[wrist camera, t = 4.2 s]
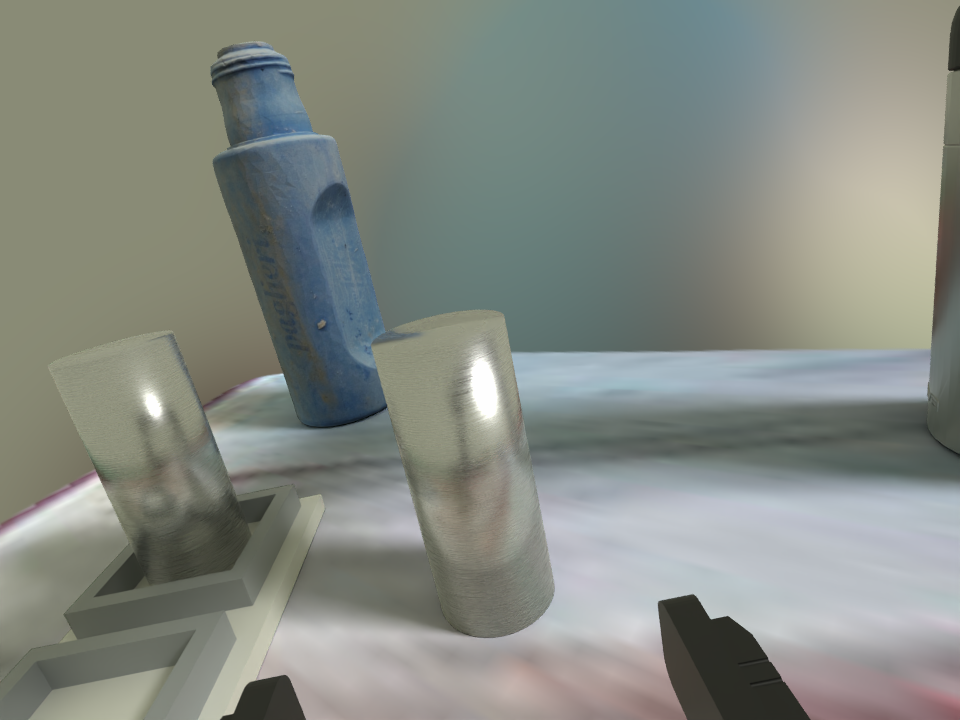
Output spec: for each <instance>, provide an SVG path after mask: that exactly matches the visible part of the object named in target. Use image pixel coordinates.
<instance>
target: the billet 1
mask: <svg viewBox="0 0 960 720" xmlns="http://www.w3.org/2000/svg"><path fill="white" fill-rule="evenodd" d="M47 367H48V369H49V371H50V373H51V376H52V378H53V380H54V382H55V384H56V386H57V388H58V391H59V393H60V395H61V397H62V399H63V401H64V403H65V406H66V407H67V410H68V412H69V414H70V416H71V418H72V421H73V423H74V425H75V427H76V429H77V431H78V433H79V436H80V438H81V440H82V442H83V444H84V446H85V448H86V450H87V453H88V455H89V457H90V459H91V461H92V463H93V465H94V468H95V470H96V472H97V474H98V476H99V478H100V481H101V483H102V485H103V487H104V489H105V491H106V493H107V496H108V498H109V500H110V502H111V504H112V506H113V508H114V511H115V513H116V515H117V517H118V519H119V521H120V523H121V526H122V528H123V530H124V532H125V534H126V536H127V538H128V541H129V543H130V545H131V547H132V549H133V551H134V553H135V555H136V558H137V560H138V562H139V564H140V566H141V568H142V570H143V573H144V575H145V577H146V579H147V581H148V583H149V585H150V586H154V585H159V584H164V583H168V582H173V581H178V580H183V579H188V578H193V577H198V576H203V575H208V574H213V573H218V572H223V571H228V570H232V568H233V567H234V565H235V563H236V561H237V560H238V558H239V556H240V555H241V553H242V551H243V550H244V548H245V546H246V545H247V543H248V541H249V539H250V538H251V536H252V535H251V532H250V530H249V527H248V524H247V522H246V519H245V517H244V514H243V511H242V509H241V506H240V503H239V501H238V498H237V496H236V493H235V490H234V488H233V485H232V483H231V480H230V477H229V475H228V472H227V470H226V467H225V464H224V462H223V459H222V457H221V454H220V451H219V449H218V446H217V444H216V441H215V438H214V436H213V433H212V430H211V428H210V425H209V423H208V420H207V417H206V415H205V412H204V410H203V407H202V404H201V402H200V399H199V397H198V394H197V391H196V389H195V386H194V384H193V381H192V378H191V376H190V373H189V371H188V368H187V365H186V363H185V360H184V358H183V355H182V352H181V350H180V347H179V344H178V342H177V339H176V337H175V334H174V332H173V331H159V332H153V333H148V334H142V335H138V336H134V337H129V338H125V339H121V340H117V341H114V342H110V343H106V344H103V345H100V346H96V347H93V348H90V349H86V350H83V351H80V352H77V353H74V354H71V355H69V356H66V357H64V358H61V359H59V360H56V361H55V362H52V363H51V364H49V365H48V366H47Z"/></svg>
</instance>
